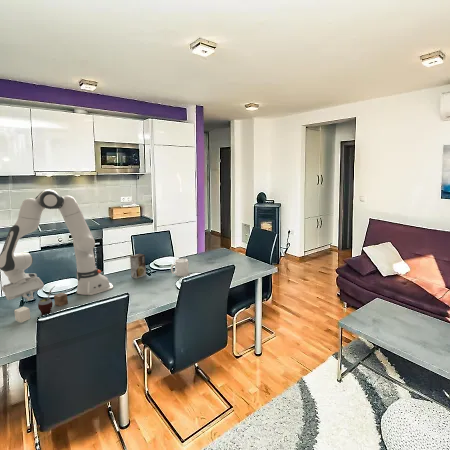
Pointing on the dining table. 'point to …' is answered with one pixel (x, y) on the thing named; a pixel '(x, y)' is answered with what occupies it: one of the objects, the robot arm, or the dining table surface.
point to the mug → (180, 267)
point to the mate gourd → (45, 305)
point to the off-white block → (22, 314)
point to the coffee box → (138, 265)
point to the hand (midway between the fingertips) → (31, 299)
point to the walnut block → (60, 299)
